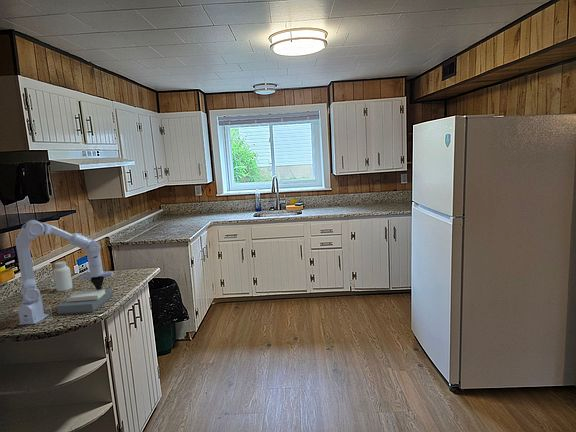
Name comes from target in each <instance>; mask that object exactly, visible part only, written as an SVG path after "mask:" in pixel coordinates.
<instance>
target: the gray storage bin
mask: <svg viewBox="0 0 576 432" xmlns="http://www.w3.org/2000/svg"><path fill="white" fill-rule="evenodd" d="M103 289H105V294H104V295H103V296H102V297H100V298H99V299H98V300H86V301H73V302H66V299H65V300H63V302H61V303H59V304H58V305H56V307H57V314H58V315H68V314H69V315H70V314H71V315H73V314H87V313H94V312H95V310H96V311H97V310H98V309H100V308H101V307H102V306H103V305H104V304H106V302H107V301H109V300H110V299H112V297H114V292H113V288H102V290H103ZM90 290H91V289H82V290H79V291H90ZM94 290H97V289H96V288H95V289H94ZM101 305H102V306H101Z"/></svg>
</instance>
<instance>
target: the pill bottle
mask: <svg viewBox="0 0 576 432" xmlns="http://www.w3.org/2000/svg"><path fill="white" fill-rule="evenodd" d="M54 267H55V268H54V269H53V270H52V271H53V272H52V273H53V279H54V286H55V291H56V292H66V291H69V290H71V289H72V288H73V281H72V279H73V278H72V273H71V269H70V266H67V262H66V261H59V262H55V263H54Z"/></svg>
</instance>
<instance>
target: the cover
mask: <svg viewBox="0 0 576 432" xmlns="http://www.w3.org/2000/svg"><path fill="white" fill-rule="evenodd" d="M102 289H103V290H95V289H89V290H90V291H80V290H79V291H73V292H72V293H71V294H69V295H67V296H66V297H65V300H66V302H73V301H86V300H98V299H99V298H100V297H102V296H103V295H104V294H105V289H106V288H102Z"/></svg>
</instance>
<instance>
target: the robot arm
mask: <svg viewBox="0 0 576 432" xmlns="http://www.w3.org/2000/svg"><path fill="white" fill-rule="evenodd" d="M42 234H43V235H54V236H56V237H59V238H61V239H65V240H66V241H68V242H69V244H70V245H71V246H73V247H77V248H79V249H81V250H85V251H86V256H87V258H86V259H87V264H88V270H89V272H88V273H84V274H81V275H80V280H85V279H90V283H92V285H93V286H94V287H95V289H97V290H102V289H103V283H104V279H105V278H106V277H110V278H111V277H113V276H114V271H104V270H103V263H102V261H103V260H102V257H101V249H102V246H101V245H100V243H99V242H98V241H96V240H94V238H93V239H92V238H91V237H87V236H85V235H83V233H82V232H81V233H80V232H78V233H77V232H74V233H70V232H68V231H66V230H64V229H61V228H59V227H56V226H54V225H53V224H50V223H46V222H42V221H38V220H36V219H31V220H28V221H27V222H25V224H24V223H23V225H22V226H21V229H20V230H19V232H18V234H17V236H16V238H15V246H16V247H15V249H16V253H17V260H18V264H19V270H20V276H21V288H20V293H21V294H20V295H21V296H22V298H23V299H22V300H21V305H20V306H19V307H18V309H17V313H18V318H19V319H18V321H19V323H18V325H19V326H20V325H24V326H25V325H35V324H36V325H37V324H38V323H39V322H41V321H42V320H44V319H45V318H47V317H48V316H50V313H45V310H44V304H43V299H42V296H41V291H40V290H39V289H38V287H37V286H38V285H37V282H36V278H35V272H34V266H33V265H34V264H33V261H32V254H31V249H30V243H32V242H33V241H34V240H35V239H36V238H38V237H40V236H42Z"/></svg>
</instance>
